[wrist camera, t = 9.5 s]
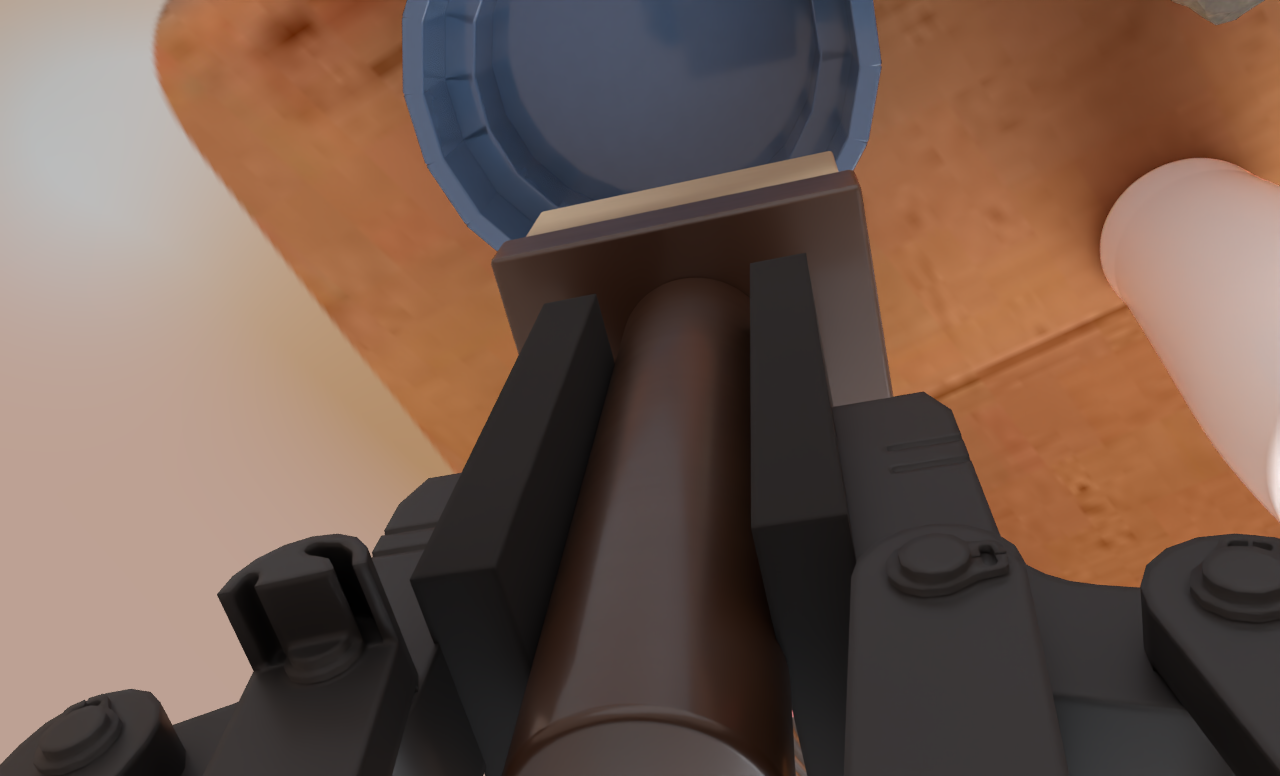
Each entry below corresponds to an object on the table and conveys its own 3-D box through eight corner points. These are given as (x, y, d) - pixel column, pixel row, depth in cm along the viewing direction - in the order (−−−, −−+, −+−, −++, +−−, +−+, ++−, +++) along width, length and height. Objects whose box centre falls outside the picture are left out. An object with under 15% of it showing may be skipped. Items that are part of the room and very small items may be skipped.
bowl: (824, -233, 31) (838, -256, 26) (886, 207, 36) (908, 259, 31) (398, -117, 33) (335, -117, 28) (514, 279, 38) (479, 338, 33)
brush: (842, 137, 17) (1006, 560, 6) (876, 349, 19) (1054, 979, 8) (526, 205, 18) (205, 671, 7) (582, 401, 20) (382, 1027, 9)
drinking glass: (1298, 296, 36) (1632, 545, 22) (1091, 351, 37) (1284, 615, 24) (1276, 100, 33) (1638, 247, 20) (1053, 169, 35) (1247, 348, 21)
